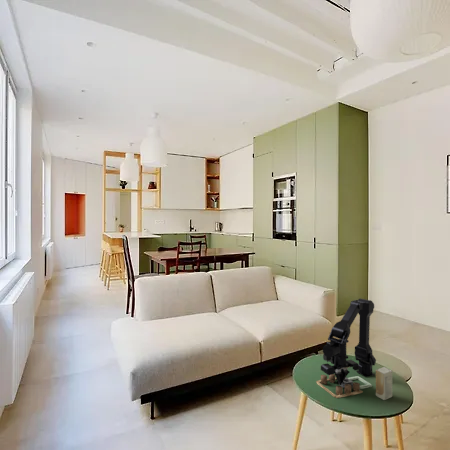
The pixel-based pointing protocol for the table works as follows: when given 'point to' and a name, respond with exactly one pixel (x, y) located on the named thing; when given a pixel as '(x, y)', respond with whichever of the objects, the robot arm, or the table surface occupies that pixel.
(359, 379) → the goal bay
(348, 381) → the grey knob block
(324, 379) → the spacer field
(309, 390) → the table surface
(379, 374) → the skincare box
